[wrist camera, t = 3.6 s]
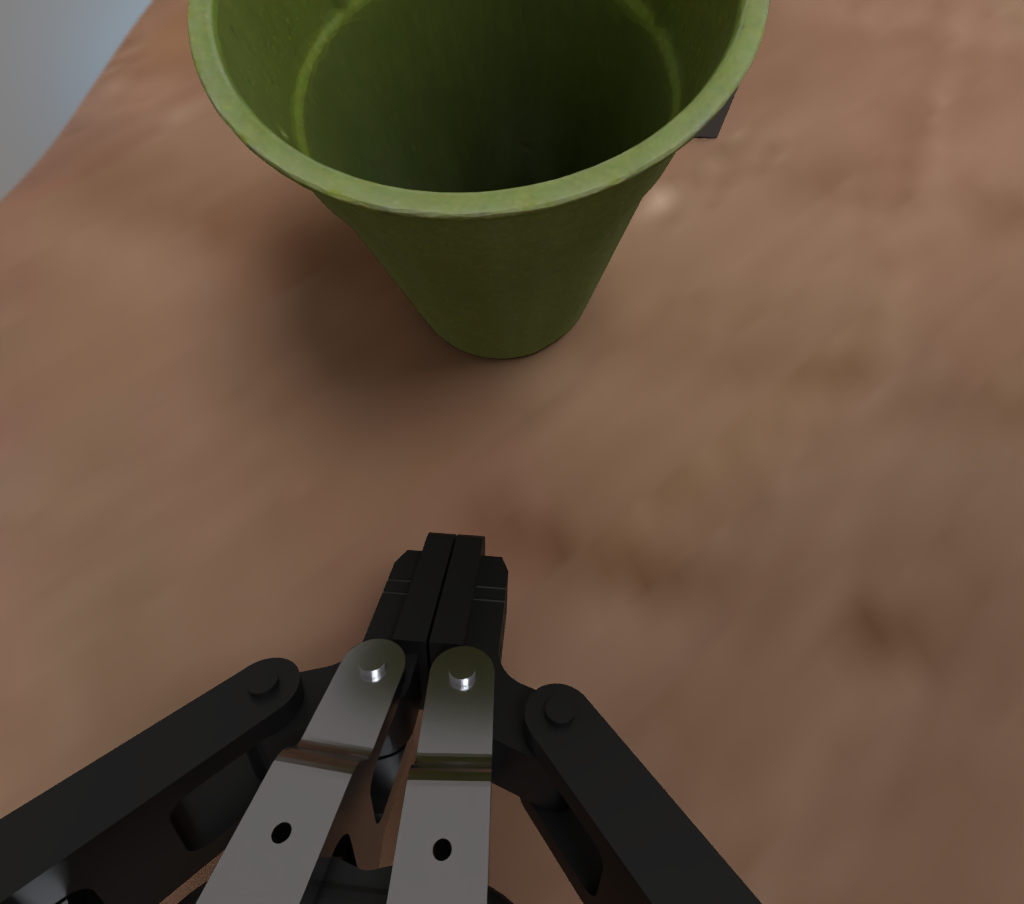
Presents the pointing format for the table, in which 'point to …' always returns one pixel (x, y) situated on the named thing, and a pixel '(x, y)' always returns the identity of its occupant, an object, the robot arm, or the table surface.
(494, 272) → the plant pot
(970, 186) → the table surface
